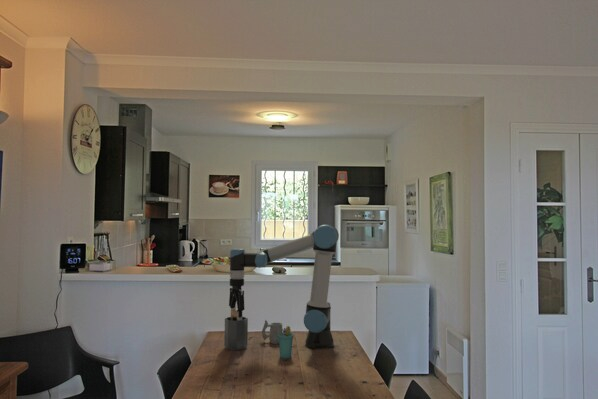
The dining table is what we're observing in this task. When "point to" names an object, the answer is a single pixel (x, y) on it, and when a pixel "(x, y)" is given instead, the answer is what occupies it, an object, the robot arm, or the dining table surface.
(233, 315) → the plunger
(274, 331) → the mug
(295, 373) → the dining table surface
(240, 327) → the press body
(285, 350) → the cup
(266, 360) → the dining table surface
